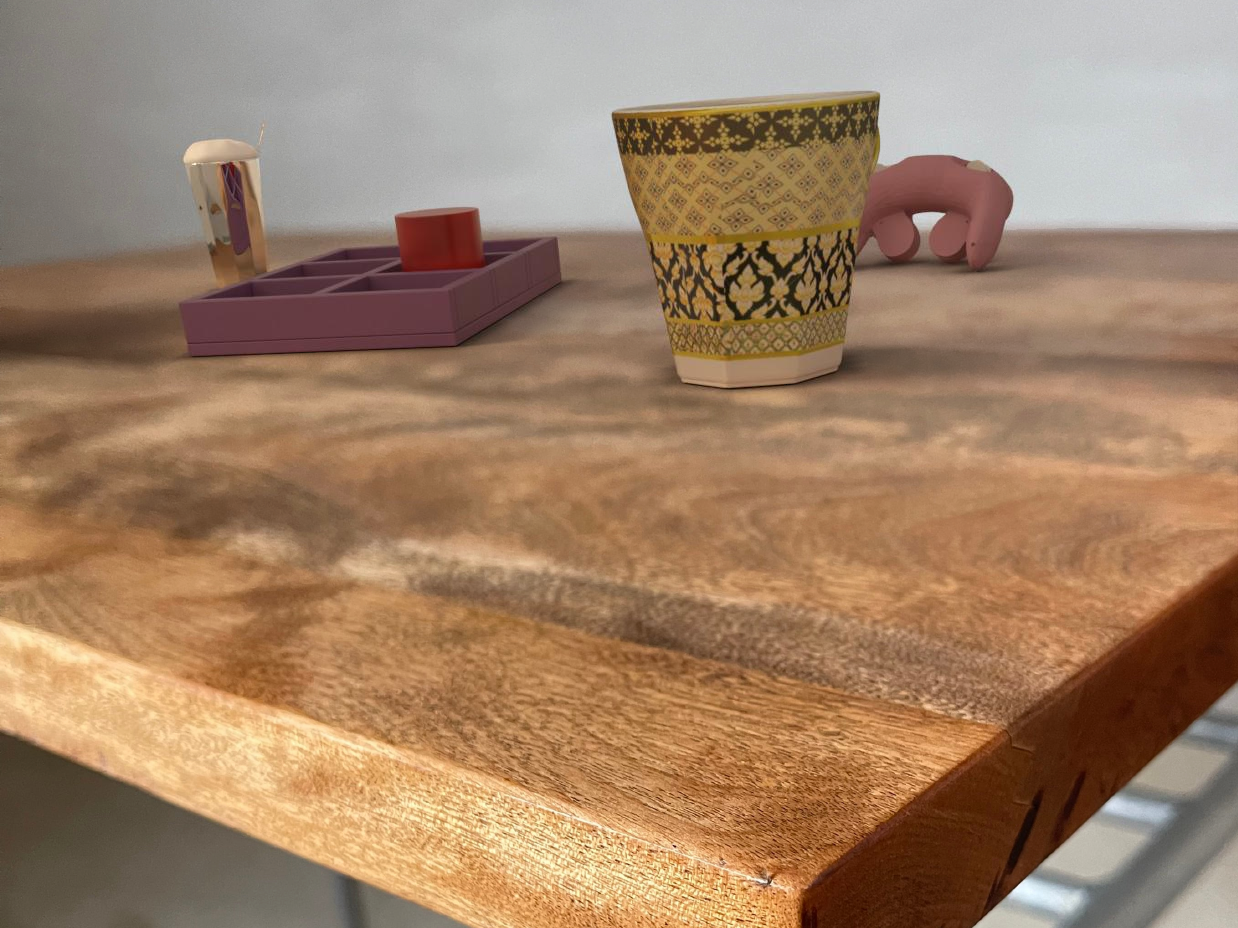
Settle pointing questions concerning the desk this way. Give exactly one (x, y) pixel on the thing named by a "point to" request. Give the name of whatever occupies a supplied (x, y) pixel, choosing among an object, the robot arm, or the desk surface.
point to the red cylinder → (440, 239)
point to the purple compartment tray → (368, 301)
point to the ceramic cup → (752, 227)
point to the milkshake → (229, 206)
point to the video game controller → (937, 208)
